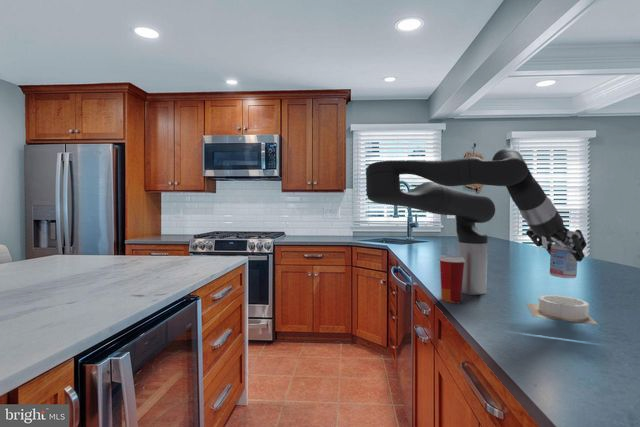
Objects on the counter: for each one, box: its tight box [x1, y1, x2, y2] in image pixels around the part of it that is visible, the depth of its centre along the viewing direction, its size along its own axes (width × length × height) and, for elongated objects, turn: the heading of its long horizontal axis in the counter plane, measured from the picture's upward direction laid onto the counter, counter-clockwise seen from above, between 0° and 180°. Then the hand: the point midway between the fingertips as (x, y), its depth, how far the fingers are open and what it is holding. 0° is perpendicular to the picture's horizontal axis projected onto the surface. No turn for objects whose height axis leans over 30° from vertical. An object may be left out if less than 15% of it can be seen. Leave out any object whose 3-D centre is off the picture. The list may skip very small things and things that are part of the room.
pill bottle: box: [549, 238, 578, 279], centre depth 95 cm, size 6×6×11 cm
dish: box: [538, 294, 590, 320], centre depth 96 cm, size 11×11×4 cm
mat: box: [525, 302, 598, 325], centre depth 96 cm, size 14×14×1 cm
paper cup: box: [438, 254, 465, 304], centre depth 109 cm, size 8×8×14 cm
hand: (567, 257), depth 96 cm, fingers closed on pill bottle, 6 cm apart
